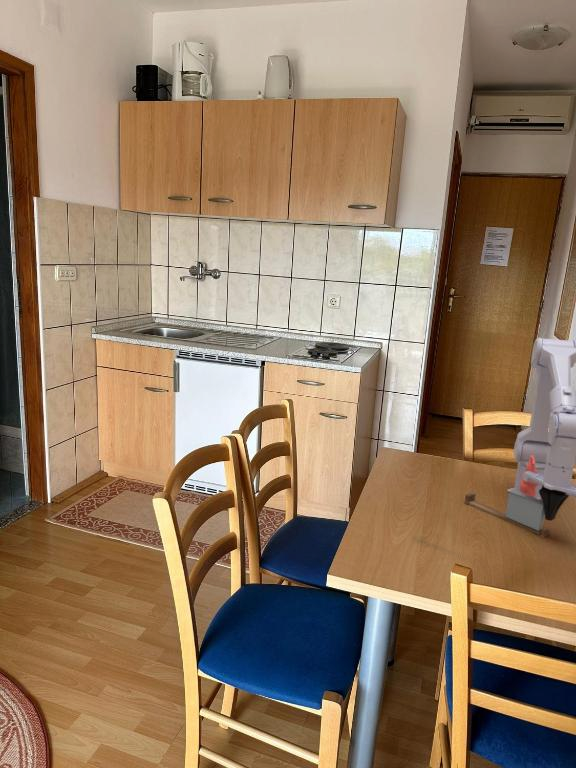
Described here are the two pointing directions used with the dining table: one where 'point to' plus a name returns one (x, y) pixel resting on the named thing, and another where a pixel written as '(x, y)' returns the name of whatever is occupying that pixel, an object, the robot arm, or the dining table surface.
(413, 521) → the dining table surface
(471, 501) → the rail
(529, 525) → the screen
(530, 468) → the figurine
